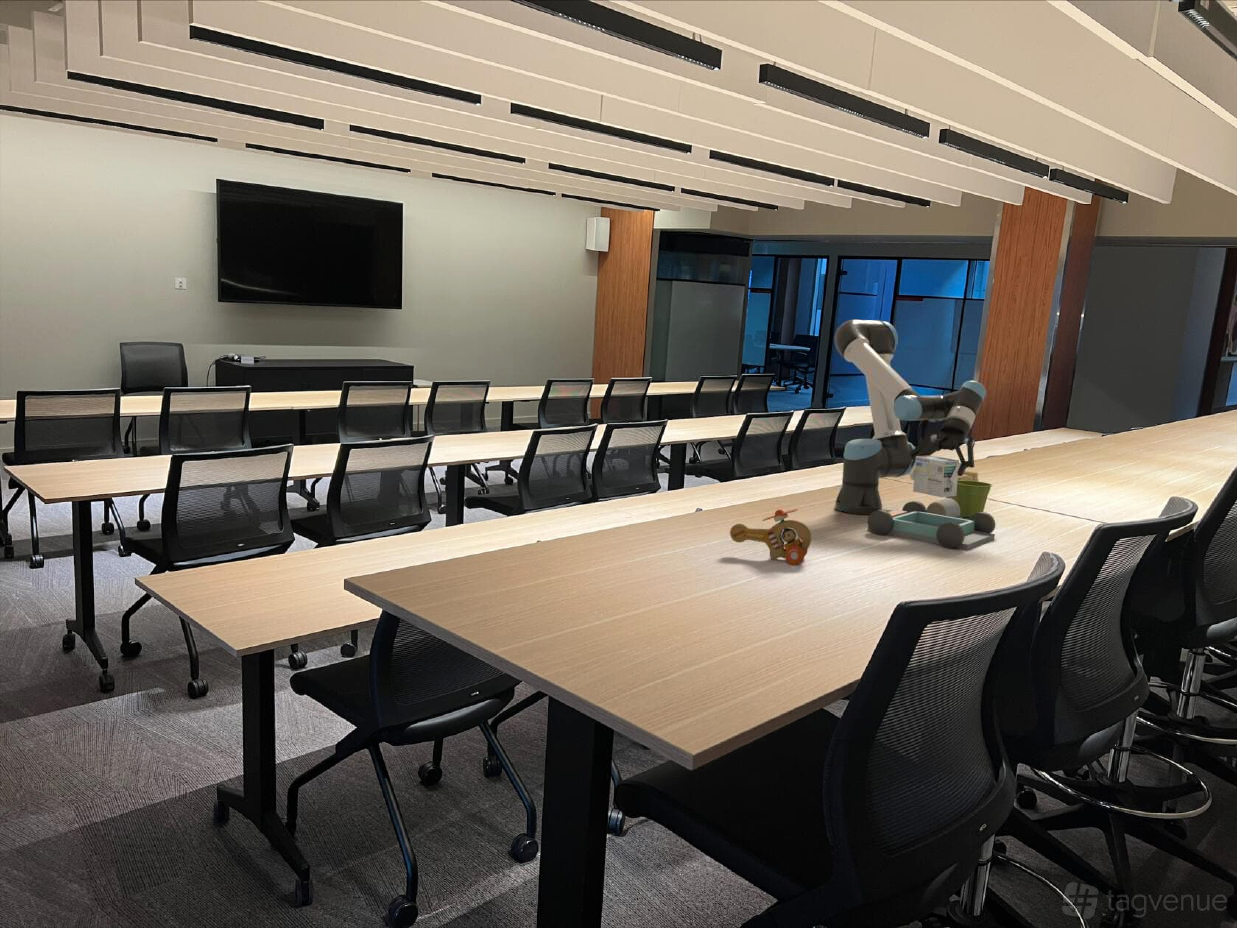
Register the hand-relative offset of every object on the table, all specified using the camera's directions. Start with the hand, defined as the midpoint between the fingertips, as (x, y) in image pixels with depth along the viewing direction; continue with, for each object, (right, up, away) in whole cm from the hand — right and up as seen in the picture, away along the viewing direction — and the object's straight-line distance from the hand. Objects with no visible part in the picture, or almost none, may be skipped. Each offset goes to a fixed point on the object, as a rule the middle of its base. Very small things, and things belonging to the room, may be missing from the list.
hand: (931, 480), depth 264 cm
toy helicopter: (-51, -20, -30) cm, 63 cm away
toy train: (+32, -9, +63) cm, 71 cm away
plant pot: (+24, -13, +34) cm, 43 cm away
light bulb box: (+2, -4, +3) cm, 5 cm away
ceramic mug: (+12, -14, +21) cm, 28 cm away
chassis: (+1, -16, +5) cm, 17 cm away
